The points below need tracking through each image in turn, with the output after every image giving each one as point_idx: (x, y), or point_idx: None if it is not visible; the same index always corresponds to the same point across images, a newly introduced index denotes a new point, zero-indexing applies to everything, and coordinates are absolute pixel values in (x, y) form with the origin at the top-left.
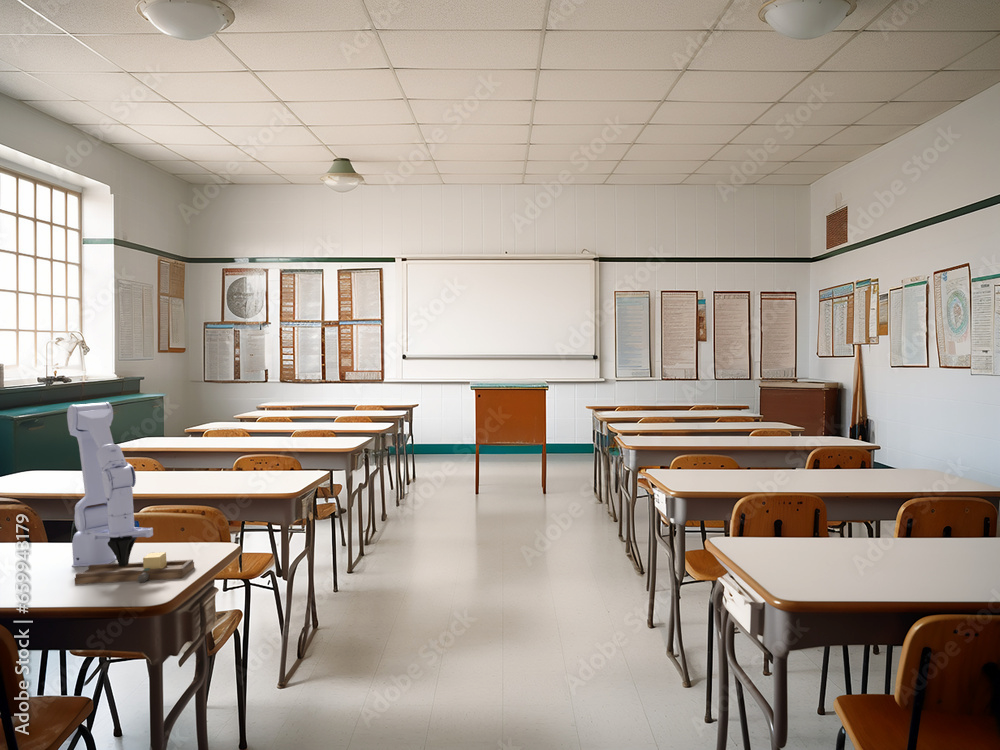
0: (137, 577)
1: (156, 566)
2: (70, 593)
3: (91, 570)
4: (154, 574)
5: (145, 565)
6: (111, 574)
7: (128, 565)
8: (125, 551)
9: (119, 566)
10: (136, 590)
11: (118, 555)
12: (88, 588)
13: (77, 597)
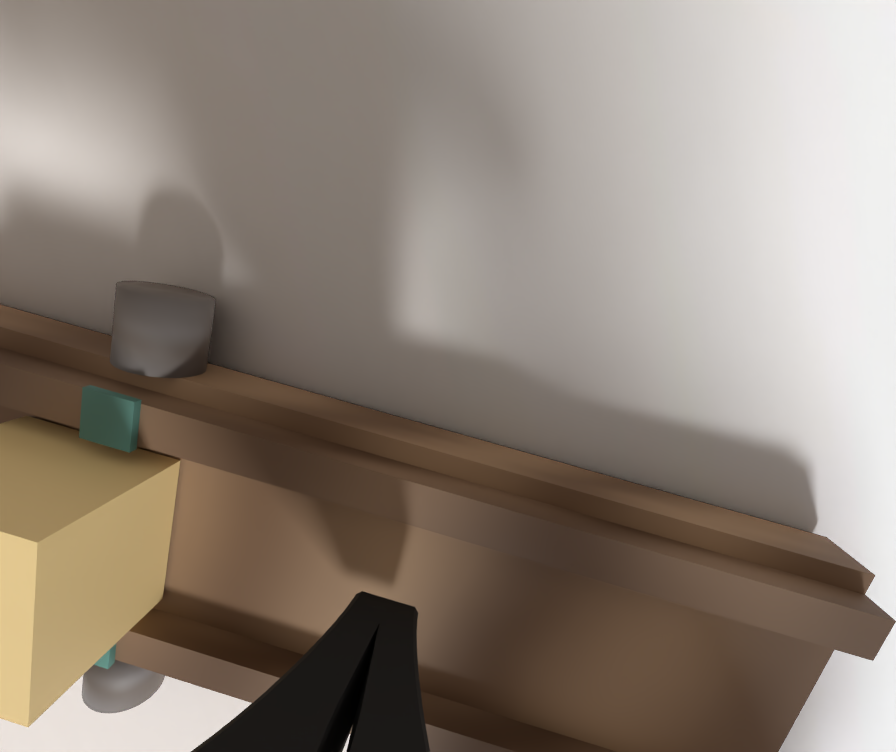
0: (237, 381)
1: (9, 438)
2: (837, 279)
3: (720, 740)
4: (60, 339)
5: (108, 482)
6: (483, 489)
7: None
8: (210, 739)
9: (413, 607)
10: (198, 94)
11: (372, 720)
12: (675, 365)
13: (750, 104)
